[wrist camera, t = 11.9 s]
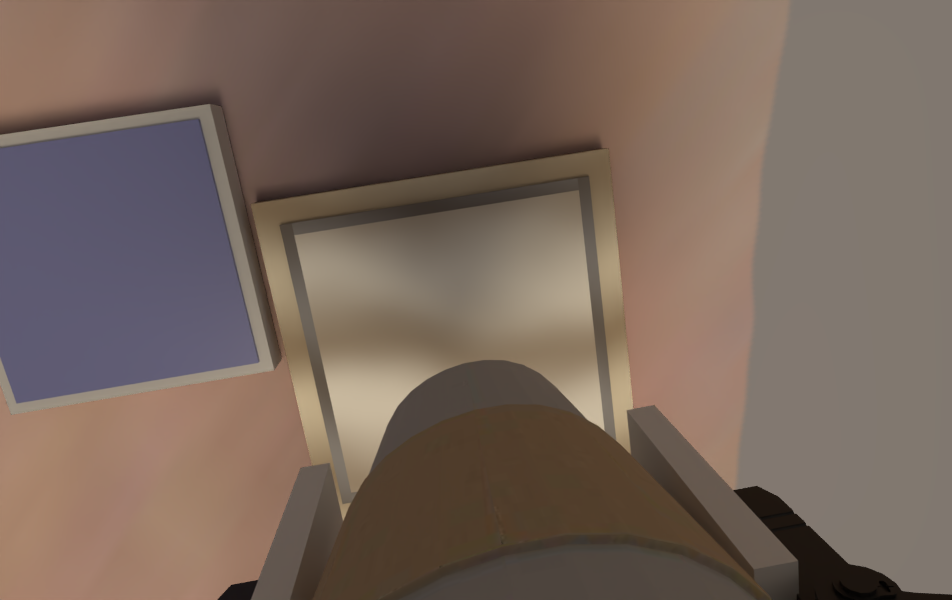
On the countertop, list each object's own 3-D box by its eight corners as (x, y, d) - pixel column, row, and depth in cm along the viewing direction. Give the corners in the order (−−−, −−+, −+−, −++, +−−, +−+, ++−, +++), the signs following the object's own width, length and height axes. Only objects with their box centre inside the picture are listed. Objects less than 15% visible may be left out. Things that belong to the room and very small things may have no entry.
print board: (256, 202, 27) (249, 204, 25) (602, 148, 27) (610, 148, 26) (329, 512, 30) (325, 527, 29) (632, 457, 31) (640, 469, 30)
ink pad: (-56, 147, 25) (-89, 147, 23) (221, 106, 26) (207, 103, 24) (32, 400, 28) (8, 416, 26) (281, 358, 28) (273, 371, 27)
